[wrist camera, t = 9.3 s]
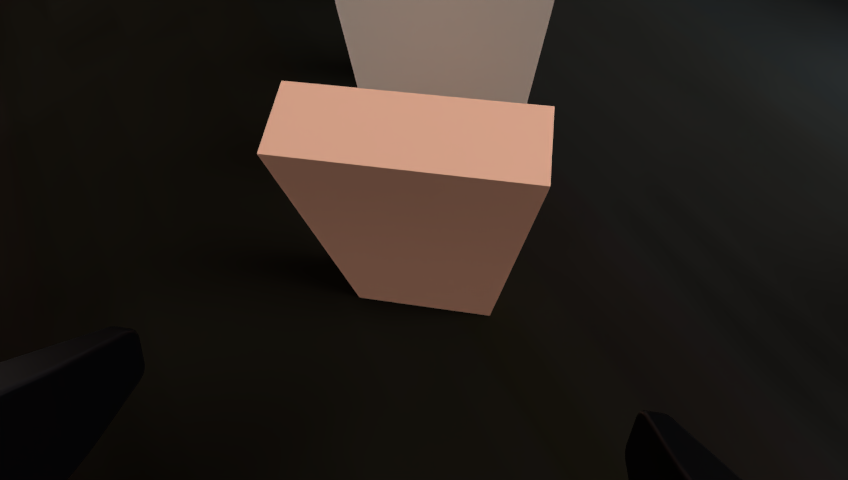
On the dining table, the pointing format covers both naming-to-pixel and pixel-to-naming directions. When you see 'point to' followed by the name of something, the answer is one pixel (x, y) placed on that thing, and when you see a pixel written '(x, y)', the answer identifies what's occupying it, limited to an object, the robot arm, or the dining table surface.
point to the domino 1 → (446, 46)
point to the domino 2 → (412, 187)
